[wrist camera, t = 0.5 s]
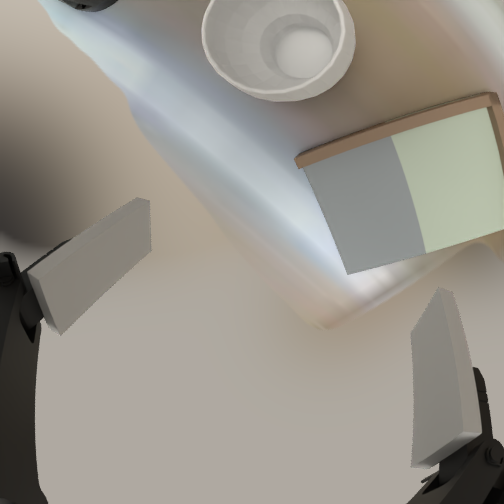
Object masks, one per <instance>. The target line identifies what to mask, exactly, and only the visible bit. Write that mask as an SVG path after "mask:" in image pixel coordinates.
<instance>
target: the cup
mask: <svg viewBox="0 0 504 504" xmlns="http://www.w3.org/2000/svg"><path fill="white" fill-rule="evenodd" d="M201 33H202V45H203V48H204V51H205V53H206V56H207V59H208V61H209V62H210V64H211V65H212V66H213V68H214V69H215V70H216V72H217V73H218V74H219V75H220V76H222V77H223V78H224V79H225V80H227V81H228V82H229V83H230V84H232V85H233V86H235V87H236V88H237V89H239V90H240V91H242V92H245V93H247V94H249V95H251V96H253V97H255V98H258V99H264V100H268V101H273V102H283V101H300V100H304V99H307V98H311V97H315V96H317V95H319V94H321V93H323V92H325V91H326V90H328V89H330V88H332V87H333V86H334V85H335V84H336V83H337V82H338V81H339V80H340V79H341V78H342V77H343V76H344V75H345V73H346V71H347V69H348V67H349V66H350V64H351V62H352V60H353V55H354V50H355V46H356V40H355V30H354V22H353V20H352V17H351V15H350V13H349V11H348V8H347V6H346V5H345V4H344V2H343V1H342V0H211V2H210V4H209V6H208V8H207V10H206V12H205V14H204V18H203V23H202V28H201Z"/></svg>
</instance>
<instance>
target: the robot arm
mask: <svg viewBox="0 0 504 504" xmlns="http://www.w3.org/2000/svg"><path fill="white" fill-rule="evenodd" d="M59 1H61V2H63V3H65V4H67V5H69V6H71V7H73V8H75V9H77V10H81V11H91V12H94V11H99V10H102V9H105V8H107V7H109V6H110V5H112V4H113V3H114V2H116V1H117V0H59ZM149 252H151V228H150V201H148V200H145V199H141V198H135V199H134V200H132V201H130V202H129V203H127V204H125V205H124V206H122V207H120V208H119V209H117V210H116V211H114V212H112V213H111V214H109V215H108V216H106V217H105V218H103V219H101V220H100V221H98V222H97V223H95V224H94V225H92V226H91V227H89V228H88V229H86V230H85V231H83V232H82V233H80V234H79V235H77V236H76V237H74V238H72V239H69V240H67V241H64V242H62V243H61V244H59V245H58V246H57V247H55V248H54V249H53V250H51V251H49V252H48V253H47V255H44V256H42V257H41V258H40V259H38V260H37V261H36V262H34V263H33V264H32V265H30V266H29V267H28V268H26V269H25V270H24V271H23V272H21V273H20V270H19V267H18V264H17V261H16V257H15V255H14V254H13V253H11V252H3V253H0V504H48V502H47V499H46V497H45V495H44V494H43V492H42V491H41V489H40V486H39V481H38V472H37V461H36V446H35V388H36V387H35V386H36V372H37V361H38V351H39V342H40V335H41V323H40V320H41V319H42V318H43V317H44V318H45V320H46V323H47V325H48V327H49V328H50V329H51V330H53V331H54V332H55V333H57V334H58V335H60V336H61V335H62V334H63V333H64V332H65V331H66V330H67V329H68V328H69V327H70V326H71V325H72V324H73V323H74V322H75V321H76V320H77V319H78V318H79V317H80V316H81V315H82V314H83V313H84V312H85V311H87V310H88V308H90V307H91V306H92V305H93V304H94V303H95V302H96V301H97V300H98V299H99V298H100V297H101V296H102V295H103V294H104V293H105V292H106V291H108V290H109V289H110V288H111V287H112V286H113V285H114V284H115V283H116V282H117V281H118V280H119V279H121V278H122V277H123V276H124V275H125V274H126V273H127V272H128V271H129V270H130V269H132V268H133V267H134V266H135V265H136V264H137V263H138V262H139V261H140V260H142V259H143V258H144V257H145V256H146V255H147V254H148V253H149ZM411 345H412V361H413V387H414V419H413V445H412V446H413V447H412V460H411V468H423V469H429V468H431V467H433V466H434V465H436V464H438V463H439V471H437V472H436V473H434V474H432V475H430V476H428V477H427V478H425V479H423V480H422V481H421V483H424V482H426V481H428V482H427V483H426V484H425V485H424V486H423V487H422V488H421V489H420V490H419V491H418V493H417V494H416V495H415V496H414V497H413V498H412V499H411V500H410V501H409V502H408V503H407V504H504V448H503V446H502V444H501V443H500V442H499V441H497V440H496V439H493V434H492V425H491V417H490V410H489V404H488V403H487V402H488V398H487V394H486V386H485V381H484V378H483V376H482V374H481V373H480V371H479V369H478V368H475V367H472V362H471V358H470V354H469V349H468V345H467V340H466V336H465V333H464V329H463V325H462V321H461V318H460V314H459V311H458V308H457V304H456V301H455V298H454V295H453V292H452V291H449V290H446V289H443V288H440V287H438V289H437V290H436V292H435V294H434V296H433V297H432V299H431V301H430V303H429V304H428V306H427V308H426V309H425V311H424V313H423V314H422V316H421V318H420V319H419V321H418V322H417V324H416V325H415V327H414V329H413V330H412V332H411Z"/></svg>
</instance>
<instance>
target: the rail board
mask: <svg viewBox="0 0 504 504" xmlns="http://www.w3.org/2000/svg"><path fill="white" fill-rule="evenodd" d="M294 160H295V162H296V165H297V167H298V169H300V168H303V169H304V172H305V174H306V176H307V178H308V180H309V183H310V185H311V187H312V189H313V191H314V194H315V196H316V198H317V201H318V203H319V205H320V208H321V210H322V212H323V215H324V217H325V219H326V222H327V224H328V227H329V229H330V231H331V234H332V236H333V239H334V241H335V244H336V246H337V249H338V251H339V254H340V256H341V259H342V262H343V264H344V267H345V269H346V272H347V275H349V274H353V273H357V272H361V271H364V270H368V269H372V268H376V267H379V266H383V265H387V264H390V263H394V262H398V261H401V260H405V259H408V258H412V257H415V256H419V255H422V254H426V253H429V252H432V251H435V250H439V249H442V248H445V247H449V246H452V245H455V244H459V243H462V242H465V241H468V240H471V239H475V238H478V237H481V236H484V235H487V234H490V233H493V232H496V231H499V230H502V229H504V114H503V111H502V107H501V104H500V101H499V98H498V95H497V92H484V93H480V94H476V95H472V96H469V97H465V98H461V99H458V100H454V101H450V102H447V103H443V104H440V105H437V106H433V107H430V108H427V109H423V110H420V111H417V112H414V113H410V114H407V115H404V116H401V117H398V118H395V119H392V120H389V121H386V122H383V123H380V124H377V125H374V126H372V127H369V128H366V129H363V130H360V131H357V132H355V133H352V134H349V135H347V136H344V137H341V138H338V139H336V140H333V141H331V142H328V143H325V144H323V145H320V146H318V147H315V148H313V149H310V150H307V151H305V152H303V153H300V154H299V155H297V156H296V157H295V158H294Z"/></svg>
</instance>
